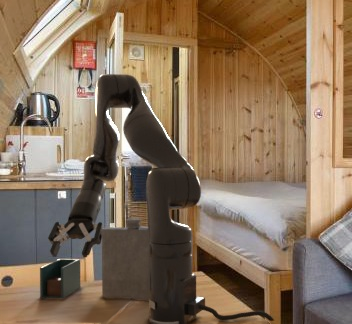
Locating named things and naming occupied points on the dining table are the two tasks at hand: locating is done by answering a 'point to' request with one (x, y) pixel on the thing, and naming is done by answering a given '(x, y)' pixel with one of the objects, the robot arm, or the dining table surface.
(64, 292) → the teal open box
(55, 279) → the walnut block
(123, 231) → the hip flask
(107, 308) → the dining table surface
